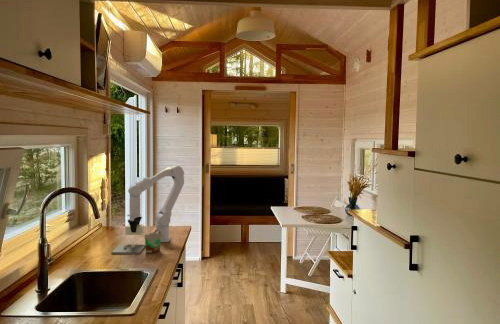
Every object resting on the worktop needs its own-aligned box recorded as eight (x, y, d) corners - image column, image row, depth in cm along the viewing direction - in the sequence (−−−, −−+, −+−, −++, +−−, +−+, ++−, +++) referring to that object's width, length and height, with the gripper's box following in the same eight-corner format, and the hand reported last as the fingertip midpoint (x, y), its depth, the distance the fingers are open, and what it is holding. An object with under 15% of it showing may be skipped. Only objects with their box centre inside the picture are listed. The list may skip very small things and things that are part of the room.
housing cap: (127, 232, 207) (127, 224, 207) (144, 232, 208) (144, 224, 208) (125, 234, 202) (125, 226, 202) (142, 234, 203) (142, 226, 203)
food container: (155, 255, 185) (155, 235, 185) (144, 254, 186) (144, 235, 186) (166, 248, 197) (166, 230, 197) (155, 247, 199) (155, 229, 198)
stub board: (119, 246, 200) (119, 241, 200) (145, 246, 201) (145, 241, 201) (111, 254, 186) (111, 248, 186) (139, 254, 187) (139, 248, 187)
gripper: (130, 204, 211) (130, 228, 212) (124, 209, 197) (124, 234, 198) (143, 204, 212) (143, 228, 212) (137, 209, 197) (137, 234, 198)
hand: (134, 231), depth 205 cm, fingers closed on housing cap, 5 cm apart
